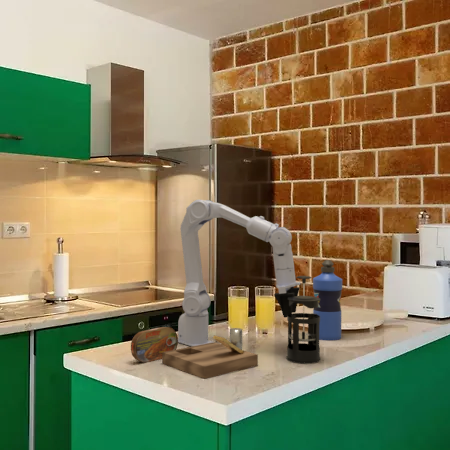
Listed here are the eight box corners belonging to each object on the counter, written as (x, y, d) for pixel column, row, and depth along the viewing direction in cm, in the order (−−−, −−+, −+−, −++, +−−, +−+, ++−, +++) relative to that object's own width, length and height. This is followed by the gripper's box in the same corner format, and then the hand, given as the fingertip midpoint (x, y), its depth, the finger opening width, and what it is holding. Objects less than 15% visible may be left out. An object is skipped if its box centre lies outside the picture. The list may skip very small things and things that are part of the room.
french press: (309, 366, 150) (310, 279, 150) (278, 360, 156) (279, 276, 155) (329, 357, 160) (330, 275, 159) (299, 351, 165) (300, 272, 165)
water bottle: (338, 334, 190) (338, 259, 189) (344, 340, 180) (345, 261, 180) (310, 334, 189) (310, 258, 189) (315, 340, 180) (316, 261, 179)
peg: (227, 353, 163) (227, 329, 163) (236, 351, 165) (236, 327, 165) (235, 356, 160) (235, 331, 160) (244, 354, 163) (245, 329, 162)
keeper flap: (212, 338, 149) (214, 334, 149) (232, 351, 154) (234, 348, 154) (222, 340, 146) (224, 337, 146) (242, 354, 151) (244, 351, 151)
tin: (135, 365, 150) (136, 333, 150) (128, 363, 152) (128, 331, 152) (178, 355, 161) (179, 325, 161) (171, 353, 163) (171, 323, 163)
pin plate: (162, 363, 152) (162, 352, 152) (214, 352, 164) (214, 342, 164) (204, 378, 139) (204, 366, 138) (257, 365, 150) (257, 354, 150)
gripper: (293, 269, 159) (299, 318, 159) (301, 265, 173) (307, 309, 173) (269, 272, 161) (274, 320, 161) (279, 267, 175) (284, 311, 175)
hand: (290, 314), depth 167 cm, fingers open, 7 cm apart
